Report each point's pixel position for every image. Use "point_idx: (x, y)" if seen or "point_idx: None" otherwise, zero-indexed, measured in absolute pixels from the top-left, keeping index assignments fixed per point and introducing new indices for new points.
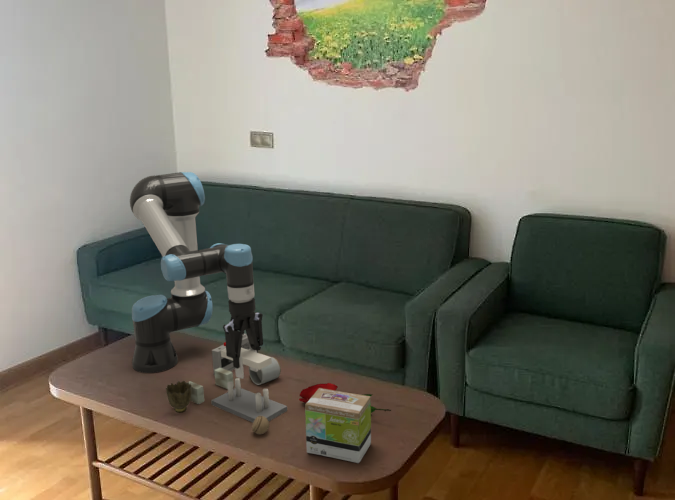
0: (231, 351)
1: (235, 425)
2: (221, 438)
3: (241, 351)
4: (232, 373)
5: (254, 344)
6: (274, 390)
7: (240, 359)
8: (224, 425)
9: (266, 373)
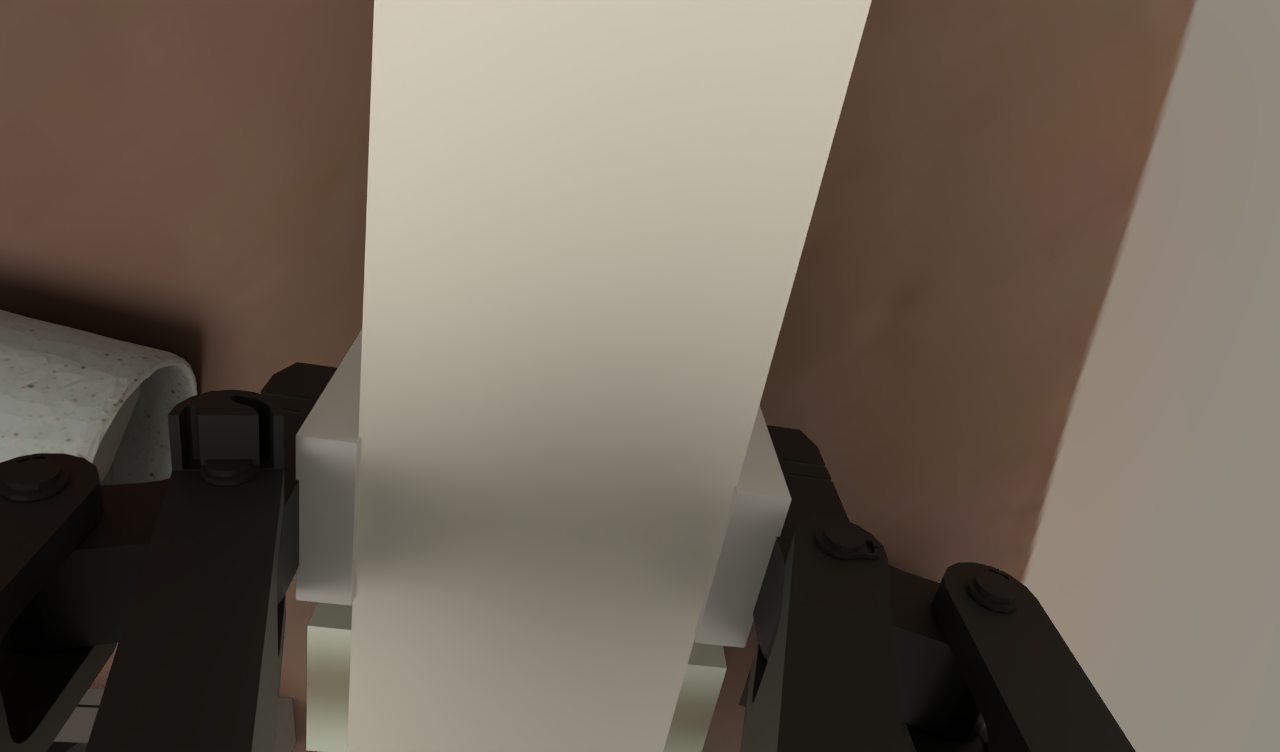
0: (1096, 715)
1: (890, 123)
2: (1126, 94)
3: (491, 656)
4: (314, 619)
5: (275, 565)
6: (166, 200)
7: (783, 483)
8: (920, 210)
9: (81, 365)
